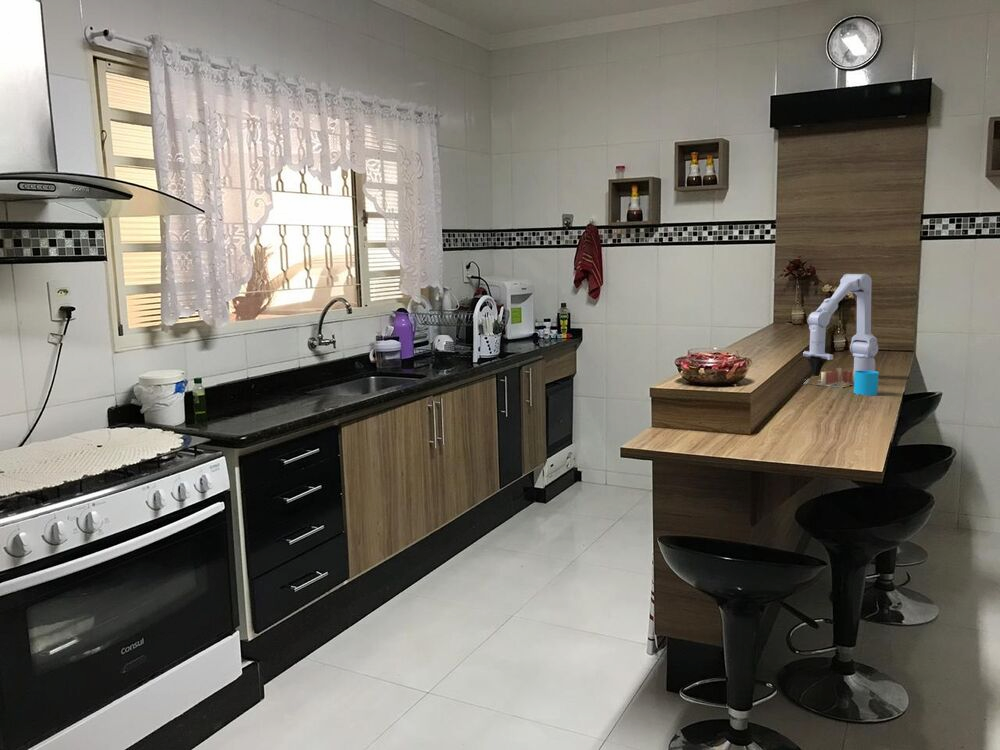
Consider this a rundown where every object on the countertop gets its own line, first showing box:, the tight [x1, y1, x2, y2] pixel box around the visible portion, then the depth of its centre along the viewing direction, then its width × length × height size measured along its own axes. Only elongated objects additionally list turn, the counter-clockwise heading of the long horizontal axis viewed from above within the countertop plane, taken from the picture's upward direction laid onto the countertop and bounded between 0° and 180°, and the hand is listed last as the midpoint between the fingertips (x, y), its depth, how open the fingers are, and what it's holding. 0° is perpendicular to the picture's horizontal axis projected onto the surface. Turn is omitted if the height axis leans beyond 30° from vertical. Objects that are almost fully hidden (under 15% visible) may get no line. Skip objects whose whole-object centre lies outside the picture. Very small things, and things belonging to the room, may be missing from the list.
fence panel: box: [820, 369, 838, 385], centre depth 322 cm, size 10×2×5 cm, turn 128°
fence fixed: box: [835, 367, 855, 384], centre depth 324 cm, size 8×2×6 cm, turn 46°
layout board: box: [802, 377, 852, 389], centre depth 329 cm, size 23×20×1 cm
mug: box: [853, 370, 880, 396], centre depth 303 cm, size 12×8×8 cm
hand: (816, 375), depth 327 cm, fingers closed
